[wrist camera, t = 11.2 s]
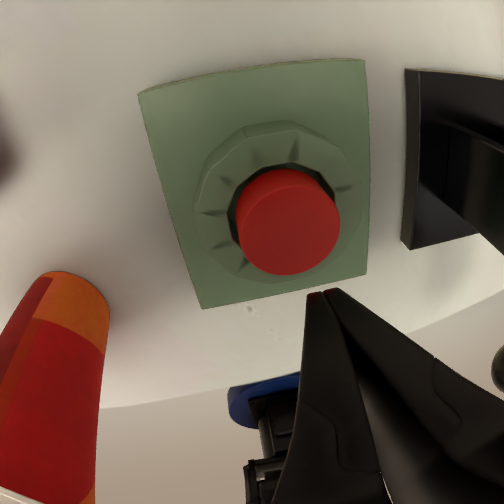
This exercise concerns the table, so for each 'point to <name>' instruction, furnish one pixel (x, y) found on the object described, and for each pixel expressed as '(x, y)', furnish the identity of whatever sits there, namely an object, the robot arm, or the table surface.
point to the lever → (498, 369)
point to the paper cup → (52, 392)
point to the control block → (260, 164)
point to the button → (286, 222)
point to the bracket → (453, 158)
